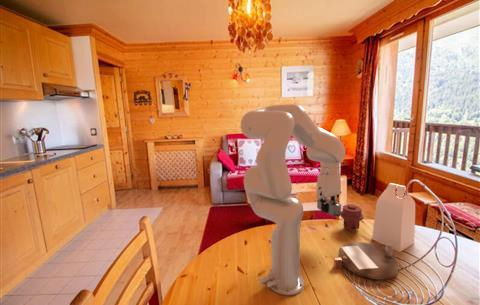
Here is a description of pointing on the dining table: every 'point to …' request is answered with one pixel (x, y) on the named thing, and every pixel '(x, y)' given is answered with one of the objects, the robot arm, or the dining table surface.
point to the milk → (395, 218)
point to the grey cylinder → (331, 207)
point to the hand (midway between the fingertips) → (328, 210)
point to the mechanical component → (351, 217)
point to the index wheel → (369, 260)
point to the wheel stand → (337, 263)
